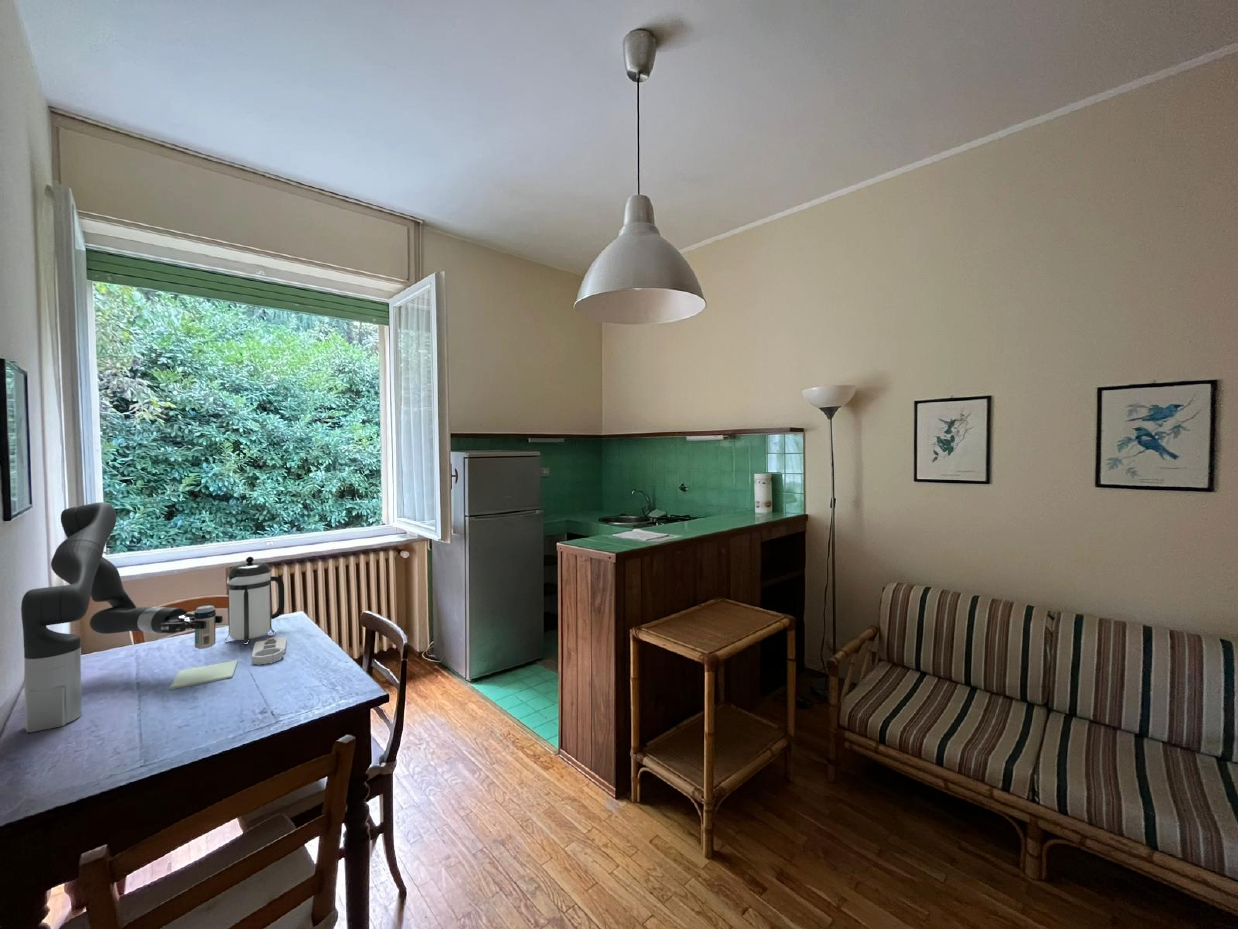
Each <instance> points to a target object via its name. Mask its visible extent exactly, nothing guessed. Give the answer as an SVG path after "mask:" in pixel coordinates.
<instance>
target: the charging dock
mask: <svg viewBox="0 0 1238 929" xmlns="http://www.w3.org/2000/svg"><path fill="white" fill-rule="evenodd" d="M286 639H287V636H284V637H278V638H275V637H274V636H273V637H269V638H267V640H259V641H255V643H254V645H253V649H252V651H251V652H252V653H251V665H254V664H264V665H268V664H267V663H269V664H272V663H271V662H274V661H276V662H278V661H277V660H279V659H280V658H282V657H283V658H284V654H283V652H284V651H285V652H286V649H285V647H286V648H287V642H286ZM279 661H280V660H279ZM274 663H275V662H274Z"/></svg>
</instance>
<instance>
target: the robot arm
mask: <svg viewBox="0 0 1238 929" xmlns="http://www.w3.org/2000/svg"><path fill="white" fill-rule="evenodd" d="M60 524H61V526H62V529H63V532H64V534H65V536H66V539H64V540H63V541H62V542H61V543H60V544H59V545H58V546H57V548H56V550H55V552H54V555H53V556H52V559H51V562H50V568H51V570H52V571H53V572H54V574H55V575H56V576H58V577H59V578H60V580H63V581H64V582H66V583H67V584H66V585H58V586H48V587H38V588H33V589H30V590H28V591H26V592H25V593H24V595H23V597H22V600H21V605H20V606H21V607H20V610H21V612H20V614H21V625H22V632H23V634H22V636H23V656H24V657H23V658H24V660H23V662H24V666H23V667H24V670H23V672H24V677H23V678H24V682H23V683H24V684H23V685H24V688H23V689H24V730H25V729H26V730H25V731H26V733H27V732H30V733H35V732H39V731H44V730H50V729H54V728H60V727H64V726H66V724H68V723H71V722H73V721H75V720H77V719H78V718H80V717H81V716H82V641H81V637H80V636H79V635H77V634H74V633H73V634H72V633H63V632H58V631H55V630H52V629H49V628H48V626H52V625H60V624H67V623H72V622H76V621H79V620H81V619H82V618H84V616H86V614H87V611H88V610H89V605H90V600H92V601H93V602H95V603H103V602H106V603H108V604H110V606H111V607H107V608H105V609H102V610H98V611H97V612H96V613H94V614H93V615H92V616H91V618H90V619H89V626H90V628H91V629H92V630H93V631H94V632H96V633H99V634H103V635H105V634H106V635H107V634H109V635H110V634H119V633H125V632H139V633H140V632H145V633H150V634H175V633H182V632H186V630H188V631H191V630H193V629H194V630H195V629H204V628H206V621H195V612H187V611H186V609H184V608H183V607H164V606H163V607H162V606H160V607H159V606H157V607H156V606H155V607H145V606H144V607H143V606H142V607H137V605H136V604H135V603H134V601H133V600H132V599H131V597H130V596H129V594H128V593H127V592H126V591H125V589H124V585H123V582H122V578H121V575H120V573H119V572H120V571H119V570H118V568H117V567H116V565H115V564H113V563H112V562H111V561H109V559H107V558H105V557H104V551H105V546H106V544H107V541H108V539H109V538H110V536H111V535H112V533H113V531H114V529H115V527H116V524H117V512H116V509H115V508H114V507H113V505H112V504H110V503H108V502H103V501H102V502H92V503H89V504H88V503H87V504H83V505H78V506H74V507H69V508H65V509H64V510H62V512H61V514H60ZM221 623H223V615H218V614H217V612H216V611H215V624H221Z"/></svg>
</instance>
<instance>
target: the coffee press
mask: <svg viewBox="0 0 1238 929" xmlns="http://www.w3.org/2000/svg"><path fill="white" fill-rule="evenodd" d="M245 561H246V562H245V563H240V564H236V565H234V566H233V567H232V568H230V570H229V572H227V579H226V584H227V586H228V596H227V598H228V635H227V637H226V638H225V639H224V641H225V640H226V641H227V639H228V637H230V639H232V640H237V641H240V640H242V641H243V644H244V643H247V642H248V640H252V639H256V638H259V637H264V636H266V635H268V634H267V633H269V632H270V631H271V632H272V633H273V634H274V632H275V630H273V628H272V620H274V619H276V618H278V617H280V616H281V614H282V613H283V611H284V609H285V582H284V581H283V579H282V578H281V577H279V576H271V572H272V568H271V567H270V565H269V564H268V563H265V562H257V561H256V562H254V557H252V556H248V557H247V558H246V559H245ZM272 582H275V583H276V584H277V599H278V600H277V601H278V603H277V605H278V606H277V610H276V611H275V612H274V613H272Z"/></svg>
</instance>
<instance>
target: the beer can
mask: <svg viewBox="0 0 1238 929" xmlns="http://www.w3.org/2000/svg"><path fill="white" fill-rule="evenodd" d="M215 612H216V608H215V606H214V605H212V604H209V605H201V606H197V607H196V609H195V611H194V613H195V621H206V628H204V629H194V648H195V649H197V650H203V649H204V650H205V649H209V648H212V647H213V646H214V645H215V644H216V623H215Z"/></svg>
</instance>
